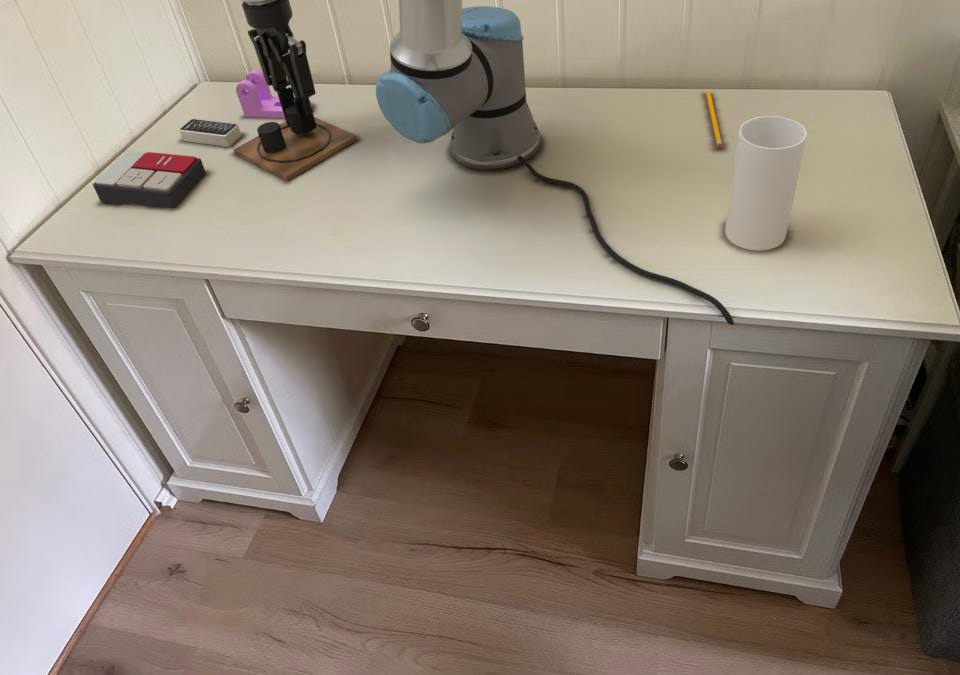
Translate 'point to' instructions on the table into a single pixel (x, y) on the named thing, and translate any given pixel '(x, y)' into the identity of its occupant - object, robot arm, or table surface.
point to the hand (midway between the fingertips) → (302, 126)
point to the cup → (764, 181)
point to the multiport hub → (210, 132)
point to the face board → (297, 149)
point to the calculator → (149, 179)
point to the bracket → (258, 97)
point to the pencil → (714, 120)
